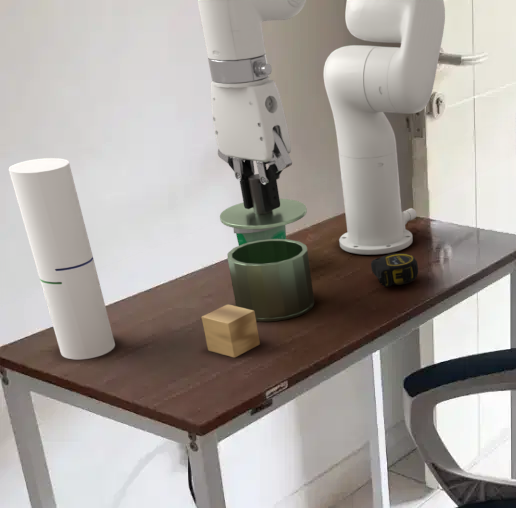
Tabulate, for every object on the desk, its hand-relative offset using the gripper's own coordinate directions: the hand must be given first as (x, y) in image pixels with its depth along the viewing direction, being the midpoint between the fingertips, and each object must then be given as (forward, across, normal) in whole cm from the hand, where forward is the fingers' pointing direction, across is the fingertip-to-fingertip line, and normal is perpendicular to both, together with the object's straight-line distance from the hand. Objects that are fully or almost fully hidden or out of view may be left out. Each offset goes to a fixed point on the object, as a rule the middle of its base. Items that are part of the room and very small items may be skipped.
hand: (262, 206), depth 143 cm
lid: (+1, 0, 0) cm, 1 cm away
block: (+15, -5, +15) cm, 21 cm away
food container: (+15, +11, -11) cm, 22 cm away
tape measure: (+15, -10, -15) cm, 24 cm away
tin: (+15, 0, +1) cm, 15 cm away
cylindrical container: (+15, +13, +25) cm, 32 cm away
